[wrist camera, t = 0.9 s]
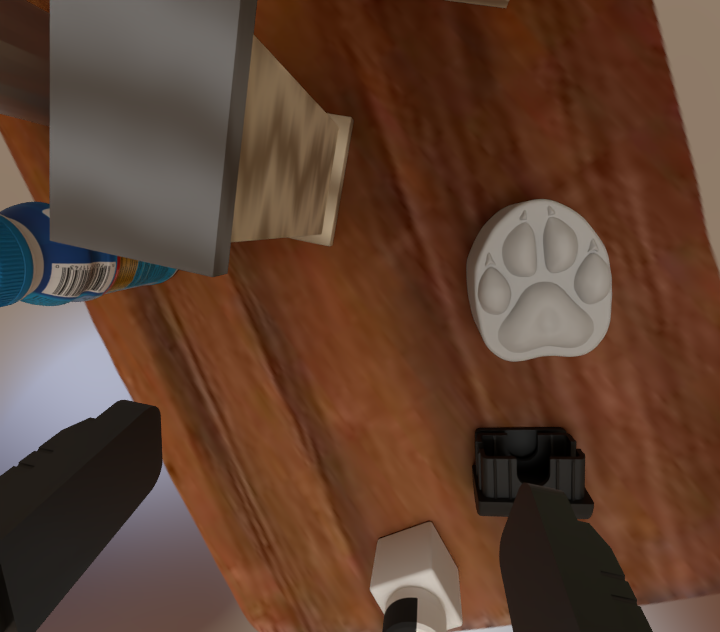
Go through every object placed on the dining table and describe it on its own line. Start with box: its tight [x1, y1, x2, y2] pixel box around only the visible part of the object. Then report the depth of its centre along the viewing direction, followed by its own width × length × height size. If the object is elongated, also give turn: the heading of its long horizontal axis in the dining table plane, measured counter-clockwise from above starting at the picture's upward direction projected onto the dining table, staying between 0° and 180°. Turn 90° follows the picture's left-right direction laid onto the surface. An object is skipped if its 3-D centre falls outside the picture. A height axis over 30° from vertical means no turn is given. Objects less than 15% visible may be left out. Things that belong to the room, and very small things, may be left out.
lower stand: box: [50, 0, 354, 277], centre depth 30 cm, size 13×10×23 cm
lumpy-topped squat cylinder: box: [466, 199, 612, 361], centre depth 35 cm, size 10×13×9 cm
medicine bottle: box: [370, 522, 463, 632], centre depth 42 cm, size 7×7×12 cm
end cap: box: [472, 427, 594, 519], centre depth 40 cm, size 10×7×7 cm
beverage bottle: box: [0, 202, 178, 307], centre depth 36 cm, size 8×8×20 cm
